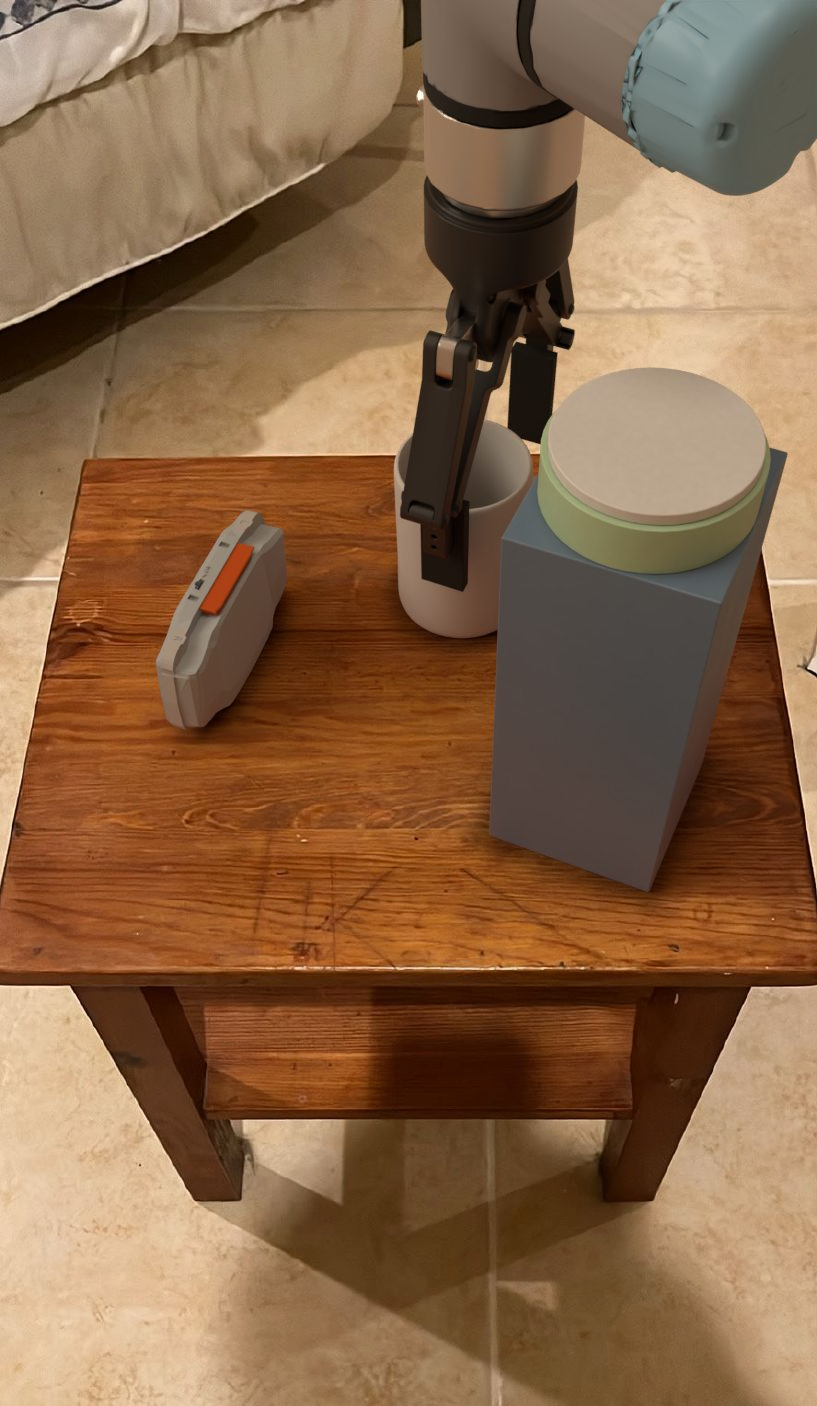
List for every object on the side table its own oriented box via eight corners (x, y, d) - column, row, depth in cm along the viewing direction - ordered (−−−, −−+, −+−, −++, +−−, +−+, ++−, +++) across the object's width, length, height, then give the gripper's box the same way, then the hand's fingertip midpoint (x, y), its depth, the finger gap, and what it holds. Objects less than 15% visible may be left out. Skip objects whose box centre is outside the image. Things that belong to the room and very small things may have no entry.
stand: (702, 763, 80) (788, 451, 59) (648, 893, 75) (722, 603, 55) (549, 713, 82) (581, 395, 62) (488, 835, 78) (500, 537, 57)
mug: (397, 640, 86) (390, 513, 76) (400, 545, 90) (394, 415, 81) (580, 639, 85) (596, 512, 76) (574, 544, 90) (589, 413, 80)
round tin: (785, 452, 59) (801, 395, 57) (720, 601, 55) (734, 547, 52) (582, 397, 62) (588, 340, 59) (503, 536, 57) (506, 481, 54)
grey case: (259, 579, 89) (242, 488, 82) (298, 589, 88) (285, 499, 81) (168, 741, 82) (141, 656, 75) (210, 753, 81) (188, 669, 75)
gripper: (524, 31, 70) (507, 368, 88) (317, 308, 58) (347, 628, 77) (659, 59, 68) (613, 397, 86) (472, 351, 57) (465, 668, 75)
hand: (488, 506), depth 81 cm, fingers open, 13 cm apart
